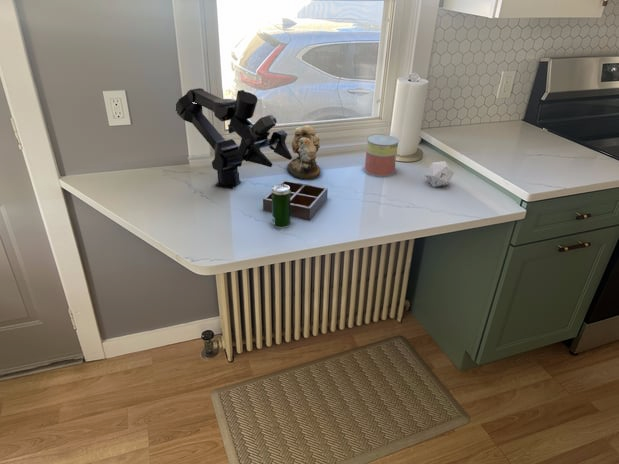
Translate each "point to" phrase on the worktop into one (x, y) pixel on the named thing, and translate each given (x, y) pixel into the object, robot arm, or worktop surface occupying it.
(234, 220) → the worktop surface
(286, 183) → the rack
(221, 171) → the robot arm
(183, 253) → the worktop surface
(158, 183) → the worktop surface
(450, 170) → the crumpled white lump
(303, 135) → the beige bust sculpture
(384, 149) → the canned food
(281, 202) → the beer can
